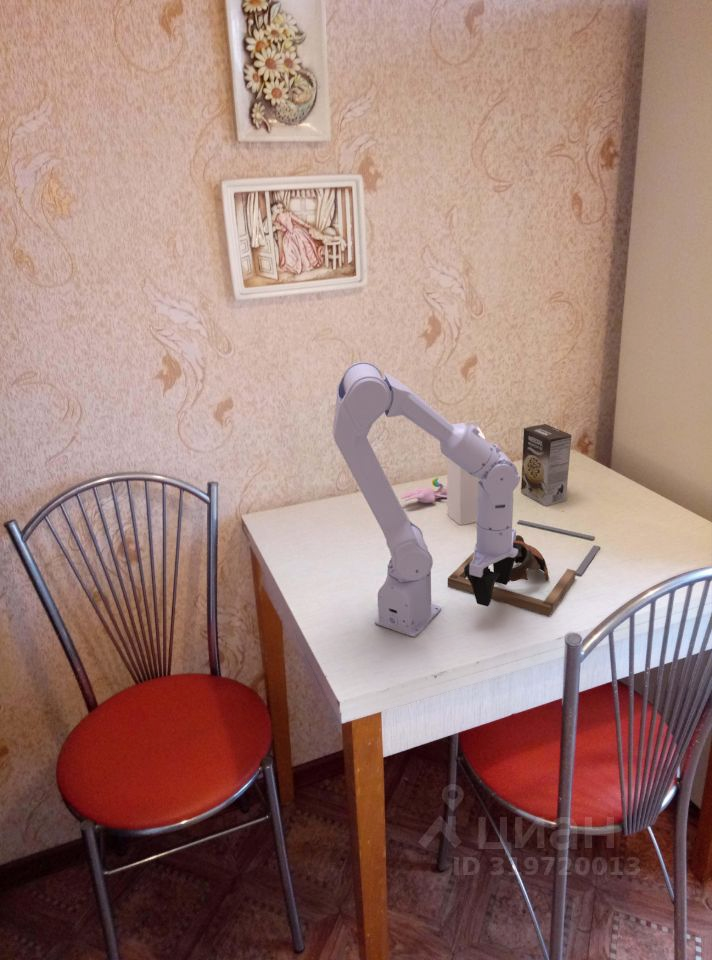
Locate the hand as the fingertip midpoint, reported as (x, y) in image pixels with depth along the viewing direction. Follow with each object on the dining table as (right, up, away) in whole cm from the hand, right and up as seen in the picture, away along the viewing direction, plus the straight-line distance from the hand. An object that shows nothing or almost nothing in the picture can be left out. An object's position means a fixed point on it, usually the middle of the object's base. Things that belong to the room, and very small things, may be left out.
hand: (492, 593), depth 117 cm
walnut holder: (+5, +1, +7) cm, 9 cm away
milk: (+1, +11, +33) cm, 35 cm away
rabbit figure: (-6, +14, +41) cm, 44 cm away
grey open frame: (+14, +6, +19) cm, 25 cm away
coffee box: (+20, +15, +40) cm, 48 cm away
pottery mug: (+7, +1, +10) cm, 12 cm away
